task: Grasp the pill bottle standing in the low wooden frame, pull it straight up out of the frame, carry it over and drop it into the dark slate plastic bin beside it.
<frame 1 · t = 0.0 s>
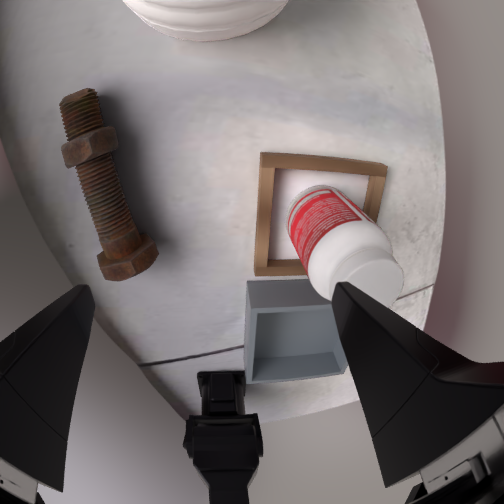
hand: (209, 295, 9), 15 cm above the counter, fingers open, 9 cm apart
bolt: (112, 173, 21), on the counter
pill bottle: (317, 215, 25), resting in wooden frame
bin: (298, 322, 31), on the counter
wooden frame: (317, 216, 25), on the counter
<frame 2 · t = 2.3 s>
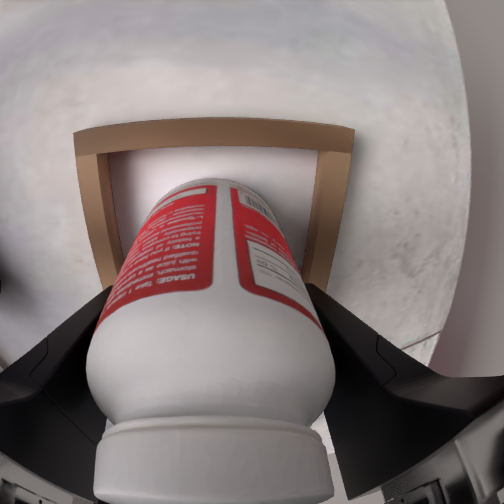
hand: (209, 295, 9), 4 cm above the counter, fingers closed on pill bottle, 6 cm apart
pill bottle: (212, 237, 13), resting in wooden frame, touching gripper
wooden frame: (212, 239, 13), on the counter
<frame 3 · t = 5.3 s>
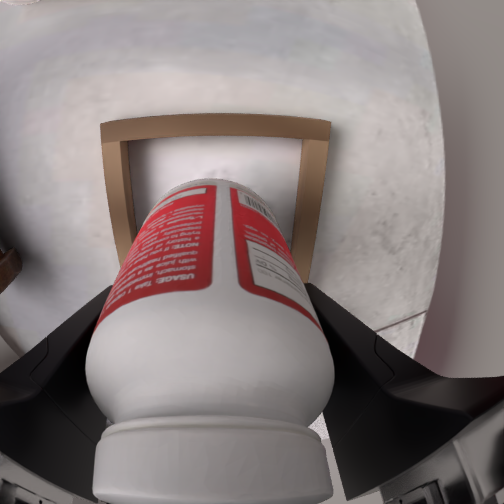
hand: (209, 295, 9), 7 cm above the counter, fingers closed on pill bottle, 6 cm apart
pill bottle: (211, 237, 13), point 3 cm above the counter, touching gripper
wooden frame: (213, 215, 15), on the counter
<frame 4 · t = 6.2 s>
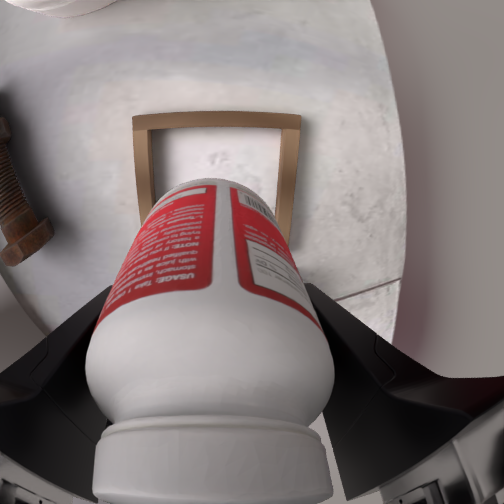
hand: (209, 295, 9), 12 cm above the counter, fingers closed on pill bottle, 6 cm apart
bolt: (14, 162, 16), on the counter
pill bottle: (211, 237, 13), point 8 cm above the counter, touching gripper
wooden frame: (215, 186, 20), on the counter
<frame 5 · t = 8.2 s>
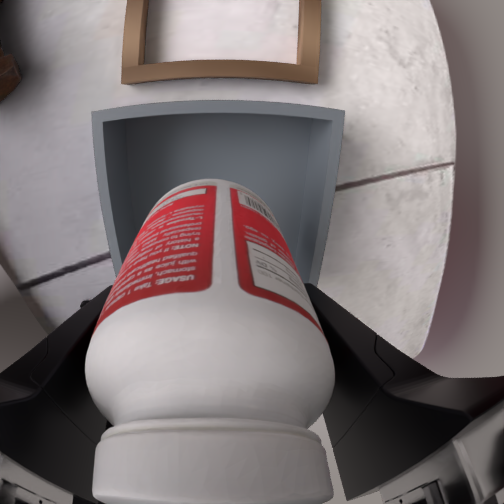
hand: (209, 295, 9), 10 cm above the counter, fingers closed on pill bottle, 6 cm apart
pill bottle: (211, 237, 13), point 5 cm above the counter, touching gripper
bin: (216, 195, 18), on the counter
when the fingers open (6 cm above the counter, at t = 9.6 s): pill bottle drops 1 cm, resting on bin.
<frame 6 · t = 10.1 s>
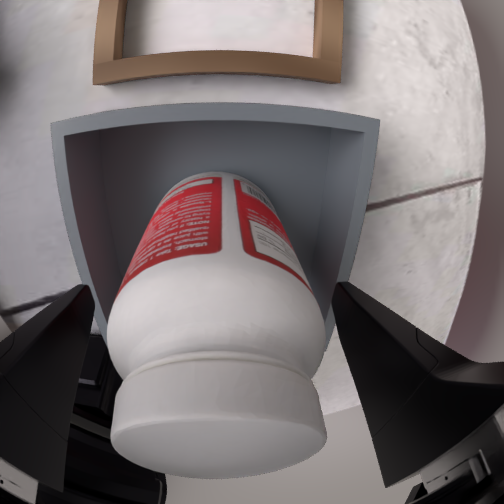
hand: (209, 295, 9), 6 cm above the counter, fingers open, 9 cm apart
pill bottle: (216, 226, 14), resting on bin
bin: (213, 221, 15), on the counter
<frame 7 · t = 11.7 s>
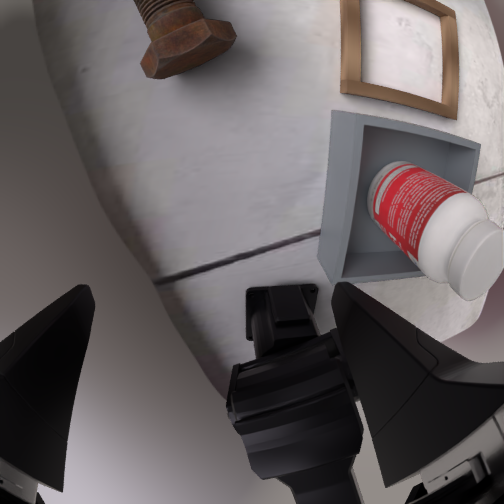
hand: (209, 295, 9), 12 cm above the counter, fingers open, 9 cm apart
pill bottle: (394, 194, 21), resting on bin
bin: (391, 191, 21), on the counter
wooden frame: (403, 43, 15), on the counter
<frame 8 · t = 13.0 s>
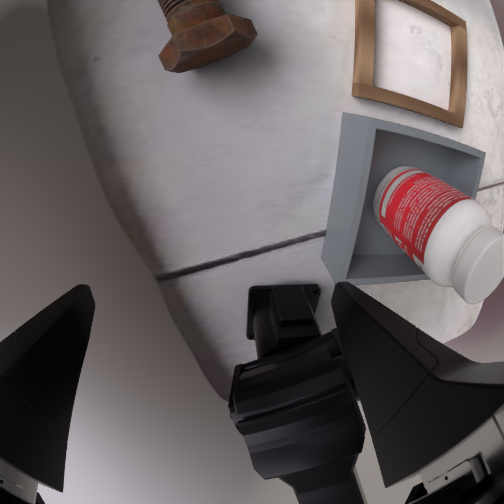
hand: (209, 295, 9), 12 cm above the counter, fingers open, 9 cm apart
pill bottle: (399, 198, 21), resting on bin
bin: (396, 195, 21), on the counter
wooden frame: (414, 50, 15), on the counter
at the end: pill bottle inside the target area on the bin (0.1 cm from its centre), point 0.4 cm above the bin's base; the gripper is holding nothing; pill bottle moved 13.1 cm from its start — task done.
